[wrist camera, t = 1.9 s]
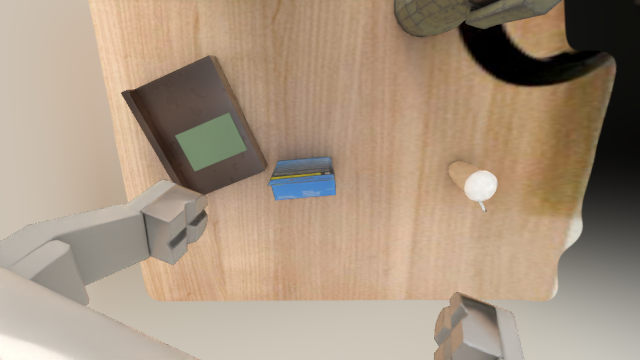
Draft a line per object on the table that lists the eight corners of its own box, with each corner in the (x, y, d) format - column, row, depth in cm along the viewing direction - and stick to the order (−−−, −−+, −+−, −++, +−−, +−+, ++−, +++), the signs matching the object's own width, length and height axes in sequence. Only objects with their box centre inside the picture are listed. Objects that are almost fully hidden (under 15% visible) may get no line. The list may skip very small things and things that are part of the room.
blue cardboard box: (280, 183, 54) (269, 213, 42) (277, 160, 52) (265, 185, 41) (333, 178, 53) (338, 207, 42) (331, 155, 52) (335, 178, 40)
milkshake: (442, 188, 54) (468, 212, 45) (444, 157, 52) (472, 175, 43) (469, 187, 54) (501, 211, 45) (472, 156, 52) (506, 174, 43)
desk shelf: (139, 91, 49) (120, 92, 44) (215, 56, 47) (204, 54, 43) (197, 193, 54) (185, 205, 49) (267, 165, 53) (262, 174, 48)
